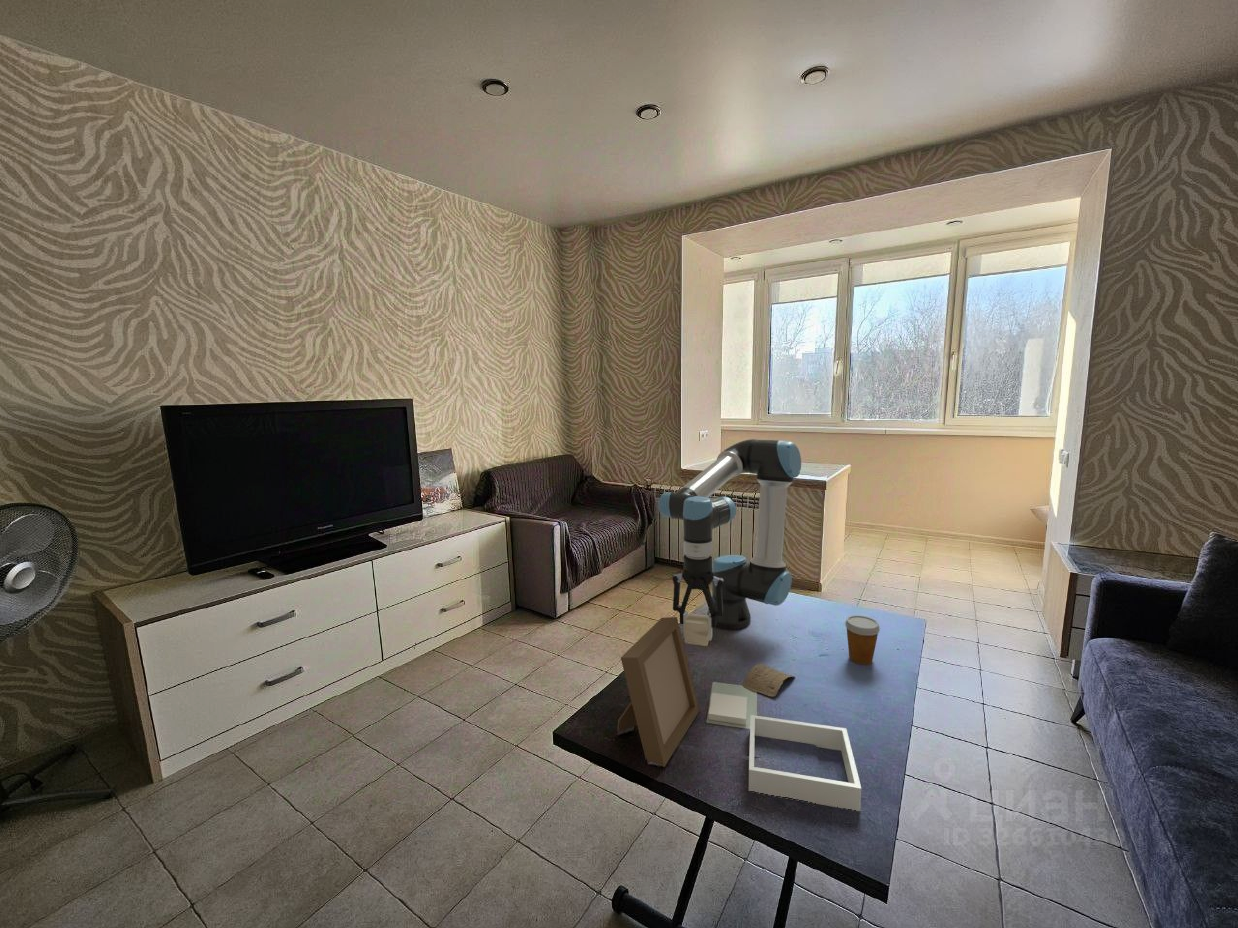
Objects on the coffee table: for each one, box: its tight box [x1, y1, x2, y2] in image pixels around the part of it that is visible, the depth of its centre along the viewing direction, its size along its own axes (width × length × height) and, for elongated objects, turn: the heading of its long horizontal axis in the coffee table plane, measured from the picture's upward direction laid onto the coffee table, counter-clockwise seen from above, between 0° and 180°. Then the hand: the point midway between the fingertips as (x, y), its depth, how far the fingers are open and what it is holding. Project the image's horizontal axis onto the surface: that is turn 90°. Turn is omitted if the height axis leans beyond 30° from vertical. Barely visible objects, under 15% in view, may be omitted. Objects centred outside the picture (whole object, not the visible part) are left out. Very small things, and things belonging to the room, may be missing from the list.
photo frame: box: [617, 616, 700, 768], centre depth 121 cm, size 15×22×25 cm
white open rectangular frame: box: [748, 715, 862, 812], centre depth 109 cm, size 18×21×5 cm
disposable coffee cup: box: [844, 614, 881, 666], centre depth 152 cm, size 10×10×12 cm
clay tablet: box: [742, 663, 794, 697], centre depth 142 cm, size 14×10×3 cm
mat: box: [705, 681, 758, 730], centre depth 132 cm, size 18×12×1 cm, turn 165°
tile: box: [708, 693, 747, 725], centre depth 129 cm, size 2×9×9 cm
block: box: [684, 612, 710, 647], centre depth 138 cm, size 6×6×6 cm
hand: (697, 636), depth 139 cm, fingers closed on block, 6 cm apart
